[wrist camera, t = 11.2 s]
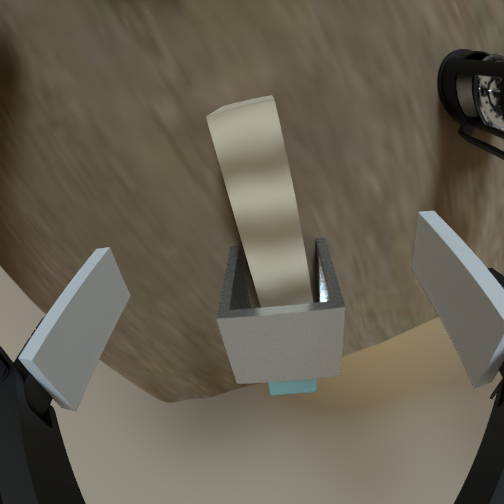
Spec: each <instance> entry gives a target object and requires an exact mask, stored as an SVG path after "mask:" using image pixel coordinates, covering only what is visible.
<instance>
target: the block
mask: <svg viewBox="0 0 504 504" xmlns="http://www.w3.org/2000/svg"><path fill="white" fill-rule="evenodd" d="M268 385H269V390H270V394H271V395H281V394H294V393H306V392H316V385H317V378H315V379H305V380H294V381H281V382H268Z"/></svg>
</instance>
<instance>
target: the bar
mask: <svg viewBox="0 0 504 504" xmlns="http://www.w3.org/2000/svg"><path fill="white" fill-rule="evenodd" d="M206 119H207V122H208V126H209V129H210V133H211V136H212V140H213V143H214V147H215V150H216V154H217V157H218V161H219V164H220V168H221V171H222V175H223V178H224V182H225V185H226V189H227V192H228V196H229V199H230V203H231V206H232V210H233V213H234V217H235V220H236V223H237V227H238V230H239V234H240V237H241V241H242V244H243V248H244V251H245V255H246V258H247V261H248V265H249V268H250V272H251V275H252V279H253V282H254V285H255V289H256V292H257V296H258V299H259V302H260V306H261V308H264V307H276V306H287V305H297V304H307V303H313V298H312V291H311V285H310V279H309V272H308V266H307V260H306V254H305V248H304V243H303V237H302V231H301V226H300V220H299V215H298V209H297V204H296V199H295V194H294V189H293V184H292V179H291V174H290V169H289V164H288V159H287V154H286V150H285V145H284V140H283V136H282V131H281V127H280V122H279V118H278V114H277V109H276V105H275V101H274V98H273V96H272V95H270V96H265V97H260V98H256V99H251V100H247V101H242V102H238V103H234V104H230V105H226V106H222V107H221V108H219V109H217V110H216V111H214V112H212V113H211V114H209V115H208V116H206Z"/></svg>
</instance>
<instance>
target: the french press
mask: <svg viewBox="0 0 504 504" xmlns="http://www.w3.org/2000/svg"><path fill="white" fill-rule="evenodd" d="M457 73H462V74H472V75H473V78H472V94H473V100H474V104H475V107H476V110H477V112H478V115H479V116H477V117H469V116H467V115H465V114H464V112H463V110H462V108H461V106H460V103H459V100H458V96H457V90H456V79H457ZM438 89H439V94H440V98H441V101H442V103H443V105H444V107H445V109H446V110H447V112H448V113H449V115H450V116H451V117H452V118H453V119H454V120H455V121H457V122H458V123H460V124H461V126H460V128H459V130H458V134H459V135H460V136H462V137H463V138H464V139H465V140H466V141H467V142H469V143H471V144H473V145H475V146H477V147H479V148H481V149H483V150H485V151H487V152H489V153H491V154H493V155H495V156H497V157H499V158H501V159H503V160H504V151H502V150H500V149H498V148H496V147H494V146H492V145H489V144H487V143H485V142H483V141H481V140H478V139H476V138H474V137H471V136H472V134H473V132H474V130H475V128H477V129H479V130H482V131H485V132H488V133H490V134H493V135H495V136H497V137H500V138H502V139H504V56H502V55H499V54H493V55H490V54H488V53H486V52H482V51H471V50H467V49H459V50H455V51H453V52H451V53H449V54H448V55H447V56H446V57H445V58H444V60H443V62H442V63H441V66H440V69H439V73H438Z"/></svg>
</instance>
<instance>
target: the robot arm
mask: <svg viewBox="0 0 504 504" xmlns="http://www.w3.org/2000/svg"><path fill="white" fill-rule="evenodd" d="M411 268H412V270H413V272H414V273H415V275H416V277H417V278H418V280H419V282H420V283H421V285H422V287H423V289H424V290H425V292H426V294H427V296H428V297H429V299H430V301H431V303H432V304H433V306H434V308H435V310H436V312H437V314H438V315H439V317H440V319H441V321H442V323H443V325H444V326H445V329H446V330H447V332H448V334H449V336H450V338H451V340H452V342H453V344H454V346H455V348H456V351H457V353H458V355H459V357H460V359H461V361H462V363H463V365H464V367H465V370H466V372H467V374H468V376H469V379H470V381H471V383H472V385H473V388H477V387H480V386H482V385H485V384H487V383H490V382H492V381H493V379H494V377H495V376H496V374H497V372H498V371H500V373H501V375H502V377H503V378H502V380H501V382H500V383H499V384H498V386H497V387H496V389H495V390H494V392H493V393H492V395H491V397H490V399H493V397H494V396H495V395H496V398H495V402H494V405H493V409H492V413H491V415H490V418H489V422H488V425H487V428H486V431H485V433H484V436H483V439H482V442H481V444H480V447H479V450H478V452H477V455H476V457H475V460H474V462H473V464H472V467H471V469H470V472H469V474H468V476H467V478H466V480H465V483H464V484H463V487H462V489H461V491H460V493H459V495H458V497H457V499H456V501H455V502H454V504H504V276H503V275H502V274H500V273H499V272H497V271H496V270H494V269H493V268H486V267H485V265H484V264H483V263H482V262H481V261H480V260H479V258H478V257H477V256H476V255H475V254H474V253H473V252H472V250H471V249H470V248H469V247H468V246H467V245H466V244H465V243H464V242H463V240H462V239H461V238H460V237H459V236H458V235H457V234H456V233H455V232H454V231H453V230H452V229H451V228H450V227H449V226H448V225H447V224H446V223H445V222H444V220H443V219H442V218H441V217H440V216H439V215H438V214H437V213H436V212H435V211H423V212H418V219H417V228H416V237H415V246H414V253H413V260H412V267H411ZM129 298H130V293H129V291H128V289H127V287H126V285H125V282H124V280H123V278H122V275H121V273H120V271H119V268H118V266H117V264H116V261H115V259H114V256H113V254H112V251H111V249H110V247H107V248H100V249H96V250H95V251H94V253H93V254H92V255H91V256H90V258H89V259H88V260H87V261H86V263H85V264H84V265H83V266H82V268H81V269H80V270H79V271H78V273H77V274H76V275H75V277H74V278H73V279H72V280H71V282H70V283H69V284H68V286H67V287H66V288H65V290H64V291H63V292H62V294H61V295H60V297H59V298H58V299H57V301H56V302H55V303H54V305H53V306H52V308H51V309H50V311H49V312H48V313H47V315H46V316H45V317H44V318H43V319H42V320H41V321H40V323H39V324H38V326H37V327H36V330H34V332H33V333H32V335H31V337H30V338H29V339H28V341H27V342H26V344H25V345H24V347H23V349H22V350H21V352H20V353H19V355H18V357H17V358H16V360H15V362H14V363H13V362H12V360H11V359H10V358H9V357H8V355H7V354H6V353H5V351H4V350H3V349H2V348H1V346H0V504H85V501H84V499H83V497H82V494H81V492H80V489H79V487H78V484H77V481H76V479H75V476H74V474H73V471H72V468H71V465H70V462H69V459H68V456H67V453H66V449H65V446H64V443H63V440H62V436H61V433H60V429H59V425H58V421H57V417H56V413H55V410H54V408H53V407H52V406H51V405H50V403H51V401H52V399H54V400H55V401H56V402H57V403H58V405H60V407H61V408H65V409H69V410H74V411H77V408H78V406H79V404H80V401H81V399H82V396H83V394H84V392H85V390H86V387H87V385H88V382H89V380H90V378H91V376H92V374H93V371H94V369H95V367H96V365H97V363H98V361H99V359H100V356H101V354H102V352H103V350H104V348H105V346H106V344H107V342H108V340H109V338H110V336H111V333H112V331H113V329H114V327H115V325H116V323H117V321H118V319H119V317H120V315H121V314H122V312H123V310H124V308H125V306H126V304H127V302H128V300H129ZM496 393H497V394H496Z"/></svg>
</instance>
